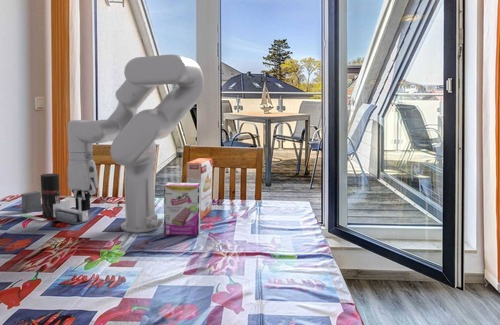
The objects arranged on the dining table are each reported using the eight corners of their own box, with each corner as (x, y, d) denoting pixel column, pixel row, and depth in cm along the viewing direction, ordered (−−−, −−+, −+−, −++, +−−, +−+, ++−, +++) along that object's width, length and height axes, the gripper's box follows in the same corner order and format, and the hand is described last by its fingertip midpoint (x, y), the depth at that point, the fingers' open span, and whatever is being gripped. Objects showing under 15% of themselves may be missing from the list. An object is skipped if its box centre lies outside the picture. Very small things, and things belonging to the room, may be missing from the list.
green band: (62, 210, 158) (62, 210, 158) (30, 218, 147) (30, 218, 147) (52, 208, 161) (52, 207, 161) (20, 216, 150) (20, 215, 150)
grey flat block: (41, 209, 159) (40, 191, 158) (26, 213, 154) (25, 194, 153) (37, 208, 160) (36, 191, 159) (22, 212, 155) (21, 193, 154)
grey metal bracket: (90, 220, 147) (90, 212, 146) (75, 224, 141) (75, 216, 141) (71, 216, 151) (71, 208, 151) (55, 220, 146) (55, 212, 145)
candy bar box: (163, 236, 131) (163, 185, 129) (166, 231, 136) (166, 182, 134) (199, 236, 132) (199, 185, 129) (200, 231, 137) (200, 182, 134)
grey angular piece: (92, 218, 146) (91, 193, 145) (78, 222, 141) (77, 196, 139) (68, 213, 152) (67, 189, 150) (53, 217, 147) (52, 192, 145)
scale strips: (73, 212, 156) (73, 212, 156) (41, 221, 144) (41, 220, 144) (62, 210, 158) (62, 210, 158) (30, 218, 147) (30, 218, 147)
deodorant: (56, 217, 149) (54, 176, 146) (39, 217, 149) (37, 176, 147) (63, 213, 154) (61, 173, 152) (47, 213, 155) (45, 173, 152)
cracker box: (201, 221, 149) (201, 163, 146) (185, 219, 150) (185, 162, 147) (212, 211, 162) (213, 158, 159) (197, 210, 163) (198, 157, 160)
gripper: (106, 157, 140) (108, 210, 143) (74, 153, 148) (76, 204, 150) (88, 160, 134) (90, 215, 136) (55, 156, 141) (58, 208, 144)
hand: (83, 209), depth 143 cm, fingers closed on grey angular piece, 2 cm apart
